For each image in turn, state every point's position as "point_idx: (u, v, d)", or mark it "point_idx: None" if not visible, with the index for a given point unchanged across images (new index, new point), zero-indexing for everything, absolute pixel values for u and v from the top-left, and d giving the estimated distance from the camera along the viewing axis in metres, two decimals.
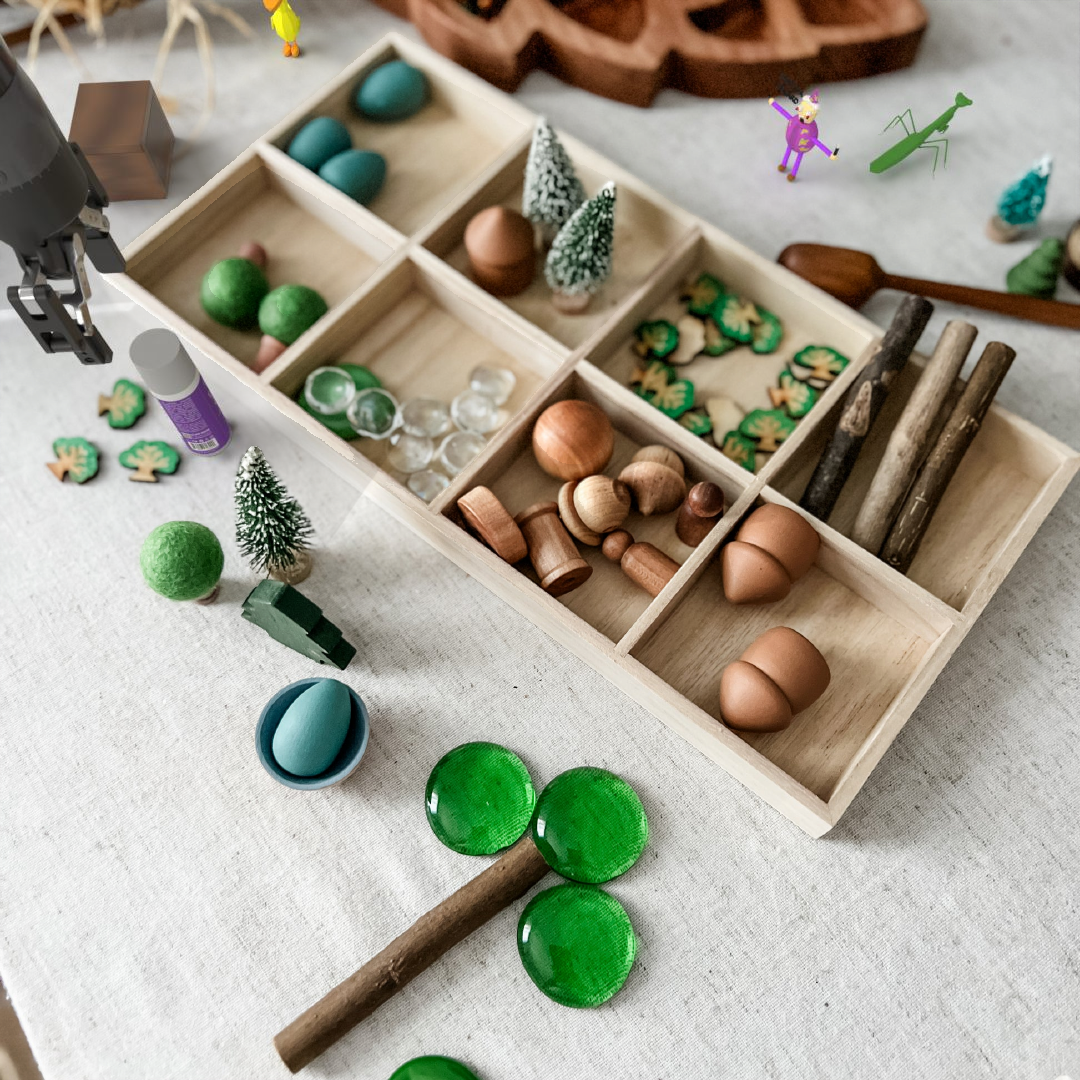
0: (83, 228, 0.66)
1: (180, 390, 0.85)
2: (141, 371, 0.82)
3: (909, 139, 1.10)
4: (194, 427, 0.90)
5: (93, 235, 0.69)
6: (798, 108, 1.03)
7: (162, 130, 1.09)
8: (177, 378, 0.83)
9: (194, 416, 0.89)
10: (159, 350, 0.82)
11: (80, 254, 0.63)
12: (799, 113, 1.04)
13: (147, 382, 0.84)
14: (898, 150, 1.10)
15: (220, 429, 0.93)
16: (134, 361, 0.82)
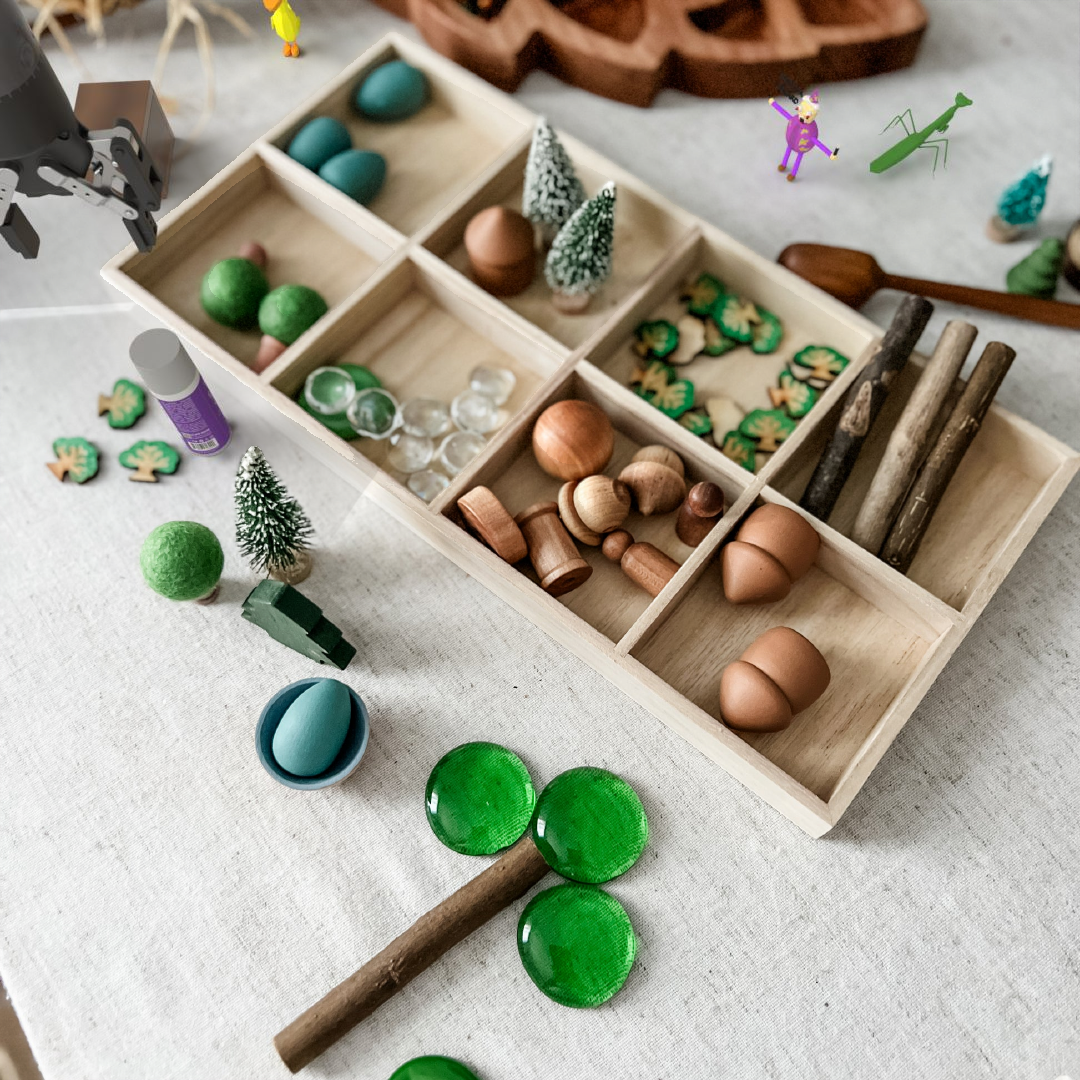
0: None
1: (180, 390, 0.85)
2: (141, 371, 0.82)
3: (909, 139, 1.10)
4: (194, 427, 0.90)
5: None
6: (798, 108, 1.03)
7: (162, 130, 1.09)
8: (177, 378, 0.83)
9: (194, 416, 0.89)
10: (159, 350, 0.82)
11: (4, 182, 0.62)
12: (799, 113, 1.04)
13: (147, 382, 0.84)
14: (898, 150, 1.10)
15: (220, 429, 0.93)
16: (134, 361, 0.82)
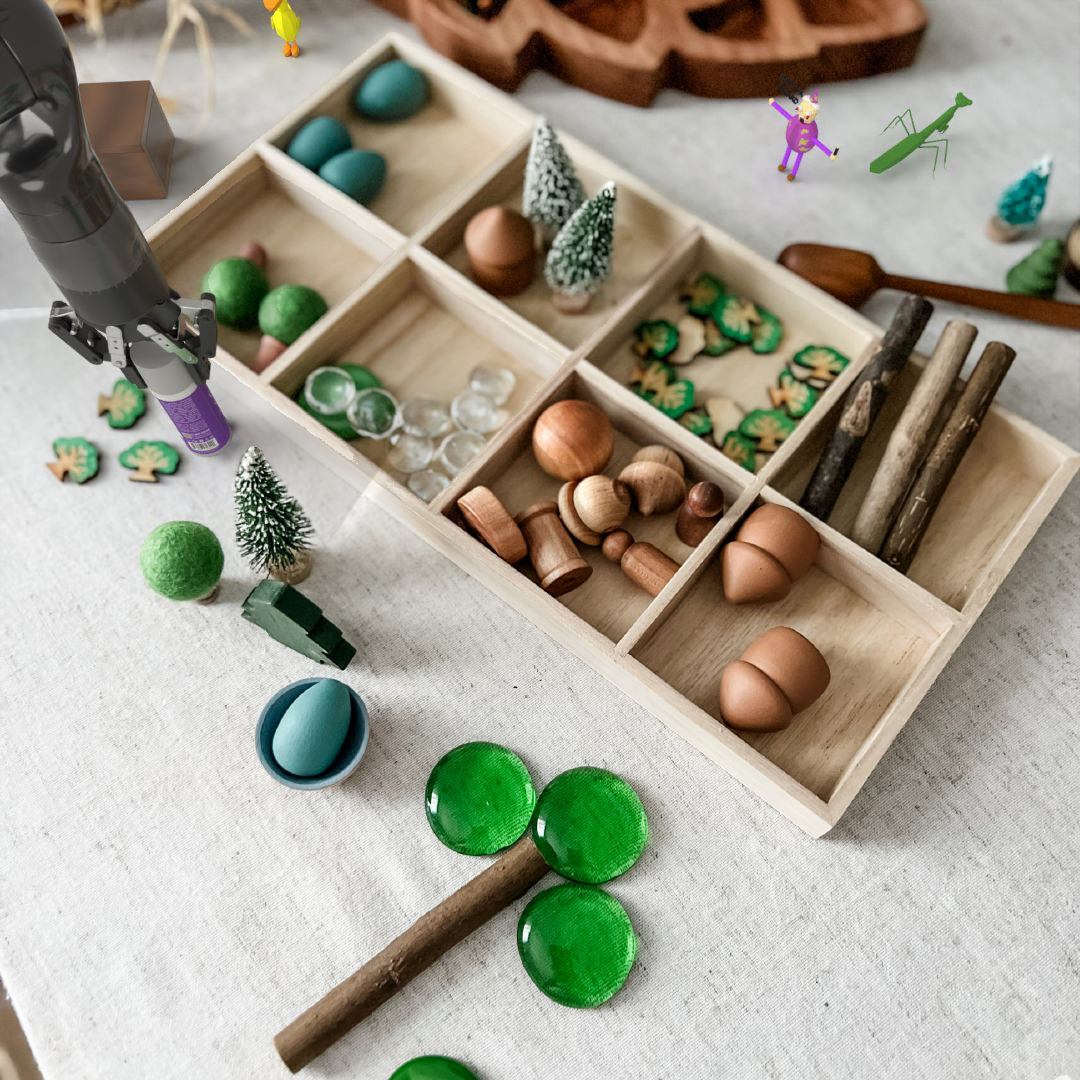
0: None
1: (180, 390, 0.85)
2: (142, 371, 0.82)
3: (909, 139, 1.10)
4: (195, 427, 0.90)
5: None
6: (798, 108, 1.03)
7: (162, 130, 1.09)
8: (177, 378, 0.83)
9: (194, 416, 0.89)
10: (160, 350, 0.82)
11: (109, 335, 0.77)
12: (799, 113, 1.04)
13: (147, 382, 0.84)
14: (898, 150, 1.10)
15: (220, 429, 0.93)
16: (135, 361, 0.82)
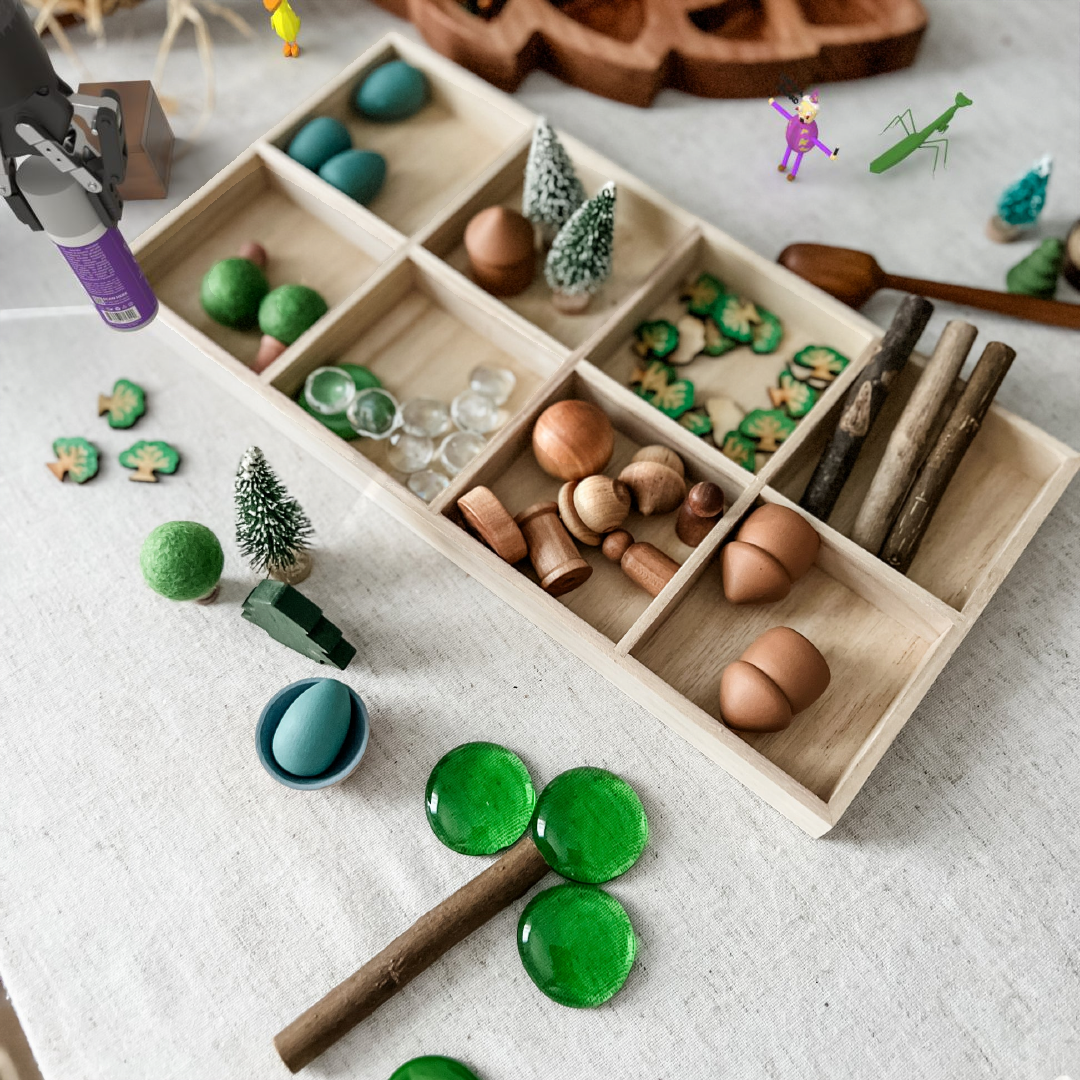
0: None
1: (83, 231, 0.68)
2: (31, 200, 0.65)
3: (909, 139, 1.10)
4: (107, 288, 0.73)
5: None
6: (798, 108, 1.03)
7: (162, 130, 1.09)
8: (78, 213, 0.66)
9: (105, 271, 0.71)
10: (54, 174, 0.65)
11: None
12: (799, 113, 1.04)
13: (41, 218, 0.67)
14: (898, 150, 1.10)
15: (142, 295, 0.76)
16: (21, 186, 0.65)
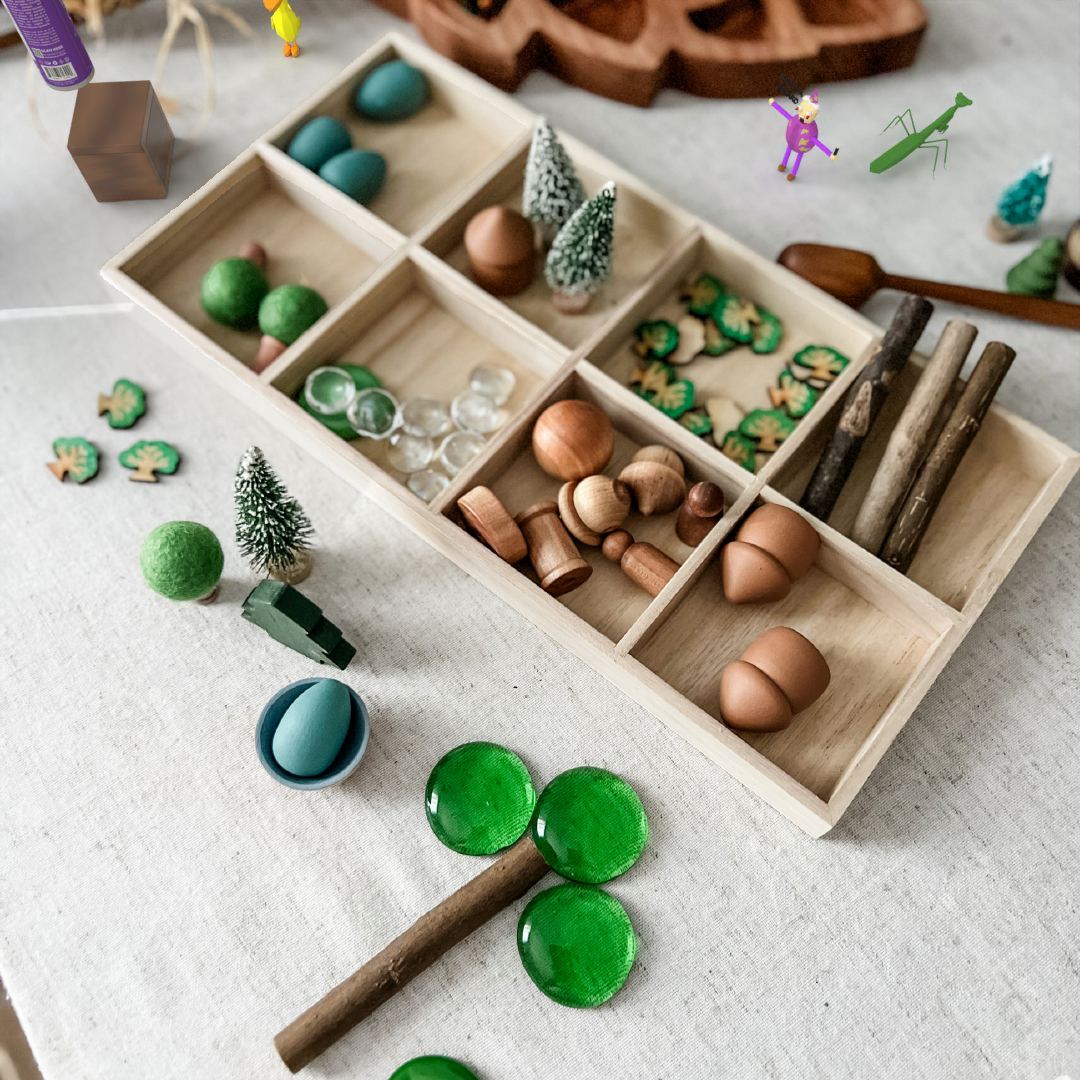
0: None
1: None
2: None
3: (909, 139, 1.10)
4: (44, 38, 0.83)
5: None
6: (798, 108, 1.03)
7: (162, 130, 1.09)
8: None
9: (41, 19, 0.81)
10: None
11: None
12: (799, 113, 1.04)
13: None
14: (898, 150, 1.10)
15: (77, 53, 0.86)
16: None
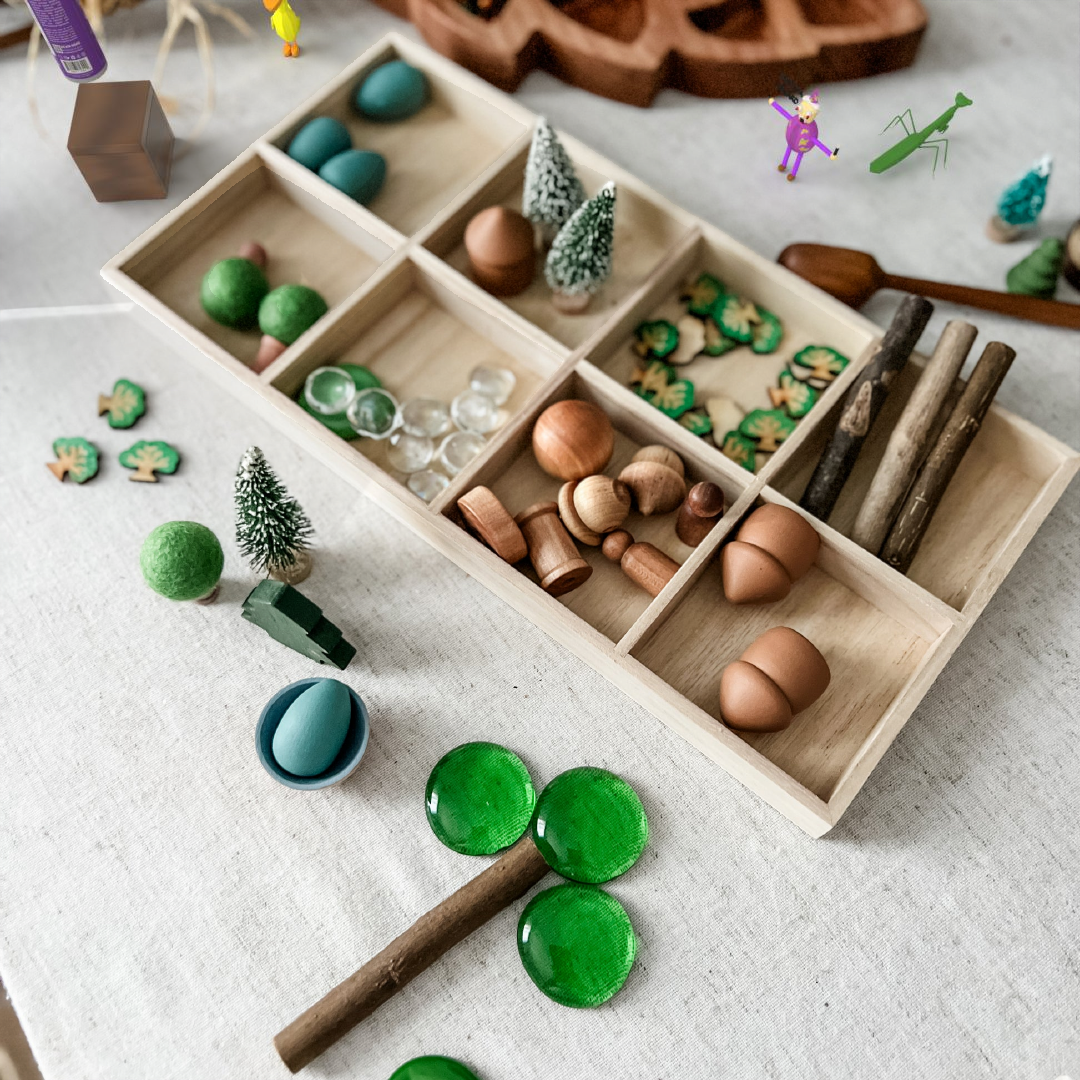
0: None
1: None
2: None
3: (909, 139, 1.10)
4: (64, 35, 0.93)
5: None
6: (798, 108, 1.03)
7: (162, 130, 1.09)
8: None
9: (61, 18, 0.92)
10: None
11: None
12: (799, 113, 1.04)
13: None
14: (898, 150, 1.10)
15: (93, 49, 0.96)
16: None
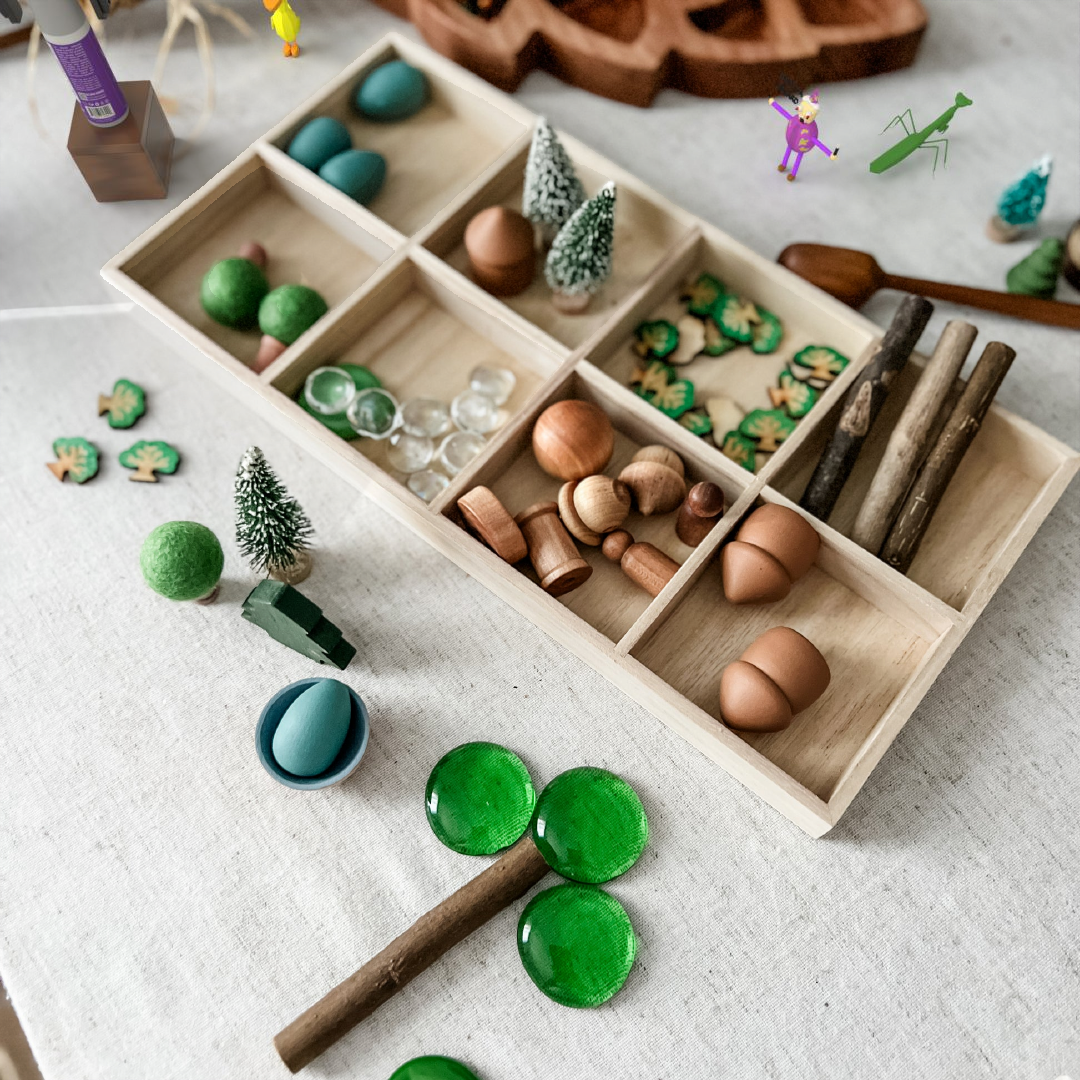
0: None
1: (69, 31, 0.93)
2: (31, 3, 0.90)
3: (909, 139, 1.10)
4: (89, 84, 0.98)
5: None
6: (798, 108, 1.03)
7: (162, 130, 1.09)
8: (65, 15, 0.92)
9: (87, 68, 0.97)
10: None
11: None
12: (799, 113, 1.04)
13: (38, 19, 0.92)
14: (898, 150, 1.10)
15: (115, 96, 1.01)
16: None
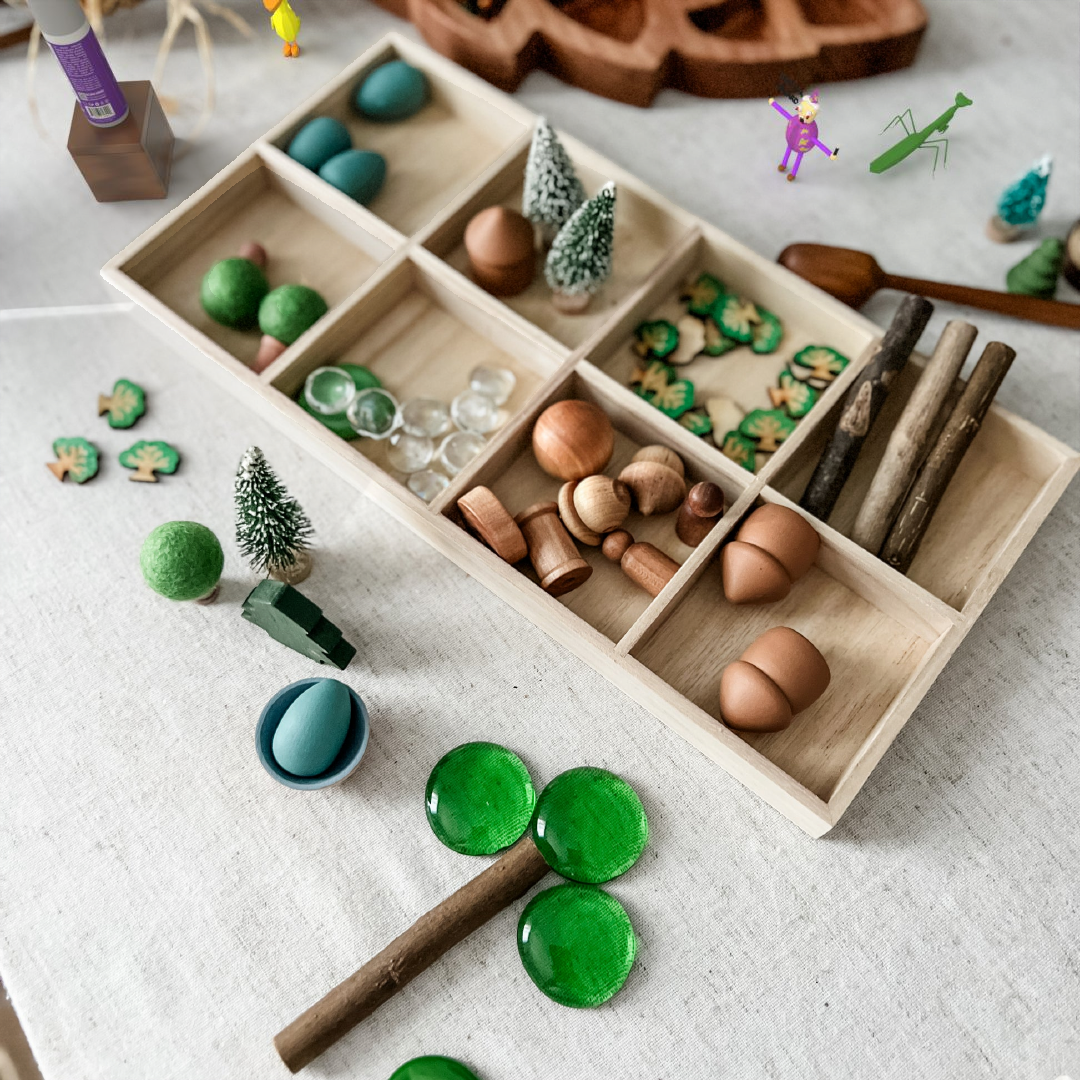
0: None
1: (69, 31, 0.93)
2: (31, 3, 0.90)
3: (909, 139, 1.10)
4: (89, 84, 0.98)
5: None
6: (798, 108, 1.03)
7: (162, 130, 1.09)
8: (65, 15, 0.92)
9: (87, 68, 0.97)
10: None
11: None
12: (799, 113, 1.04)
13: (38, 19, 0.92)
14: (898, 150, 1.10)
15: (115, 96, 1.01)
16: None
